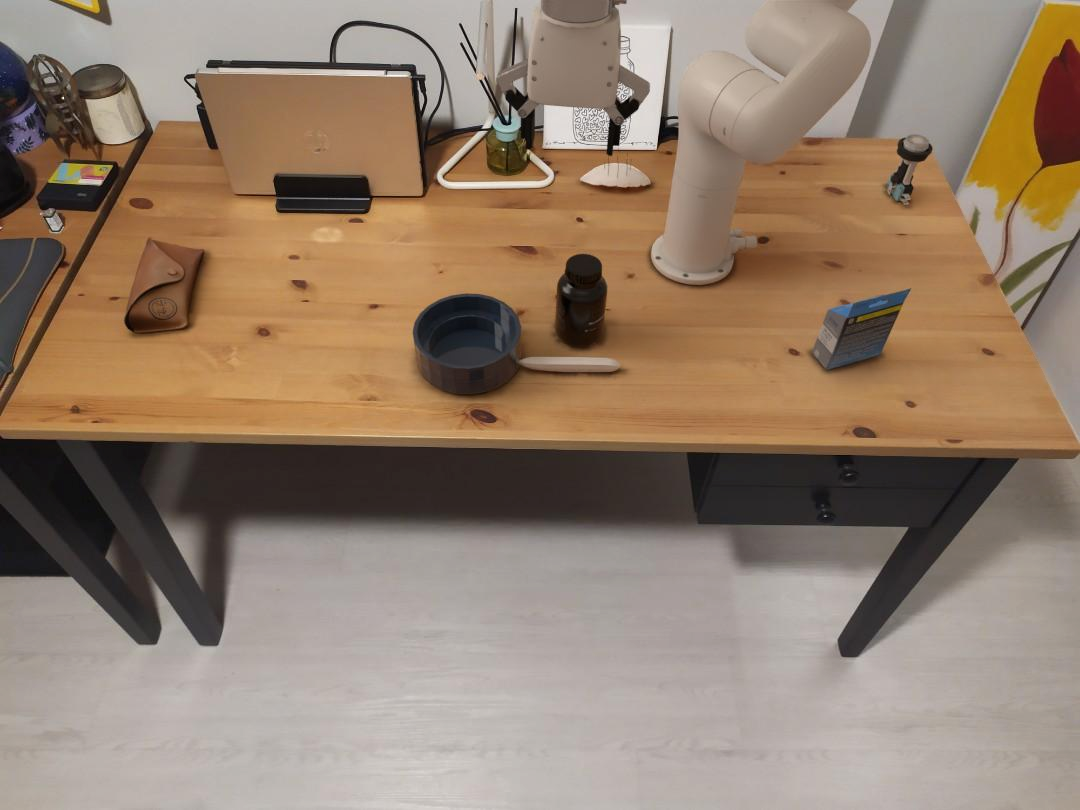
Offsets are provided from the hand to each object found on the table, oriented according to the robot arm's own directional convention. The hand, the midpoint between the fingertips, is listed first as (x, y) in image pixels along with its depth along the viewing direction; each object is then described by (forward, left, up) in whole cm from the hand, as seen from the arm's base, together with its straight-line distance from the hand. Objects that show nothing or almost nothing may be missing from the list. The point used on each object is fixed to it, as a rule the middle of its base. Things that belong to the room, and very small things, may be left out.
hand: (570, 146), depth 97 cm
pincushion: (-16, -29, -27) cm, 43 cm away
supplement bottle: (-1, +5, -27) cm, 27 cm away
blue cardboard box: (-36, +17, -27) cm, 48 cm away
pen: (+1, +2, -23) cm, 23 cm away
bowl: (+15, +7, -27) cm, 31 cm away
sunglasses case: (+56, -16, -27) cm, 64 cm away
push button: (-62, -16, -27) cm, 70 cm away
